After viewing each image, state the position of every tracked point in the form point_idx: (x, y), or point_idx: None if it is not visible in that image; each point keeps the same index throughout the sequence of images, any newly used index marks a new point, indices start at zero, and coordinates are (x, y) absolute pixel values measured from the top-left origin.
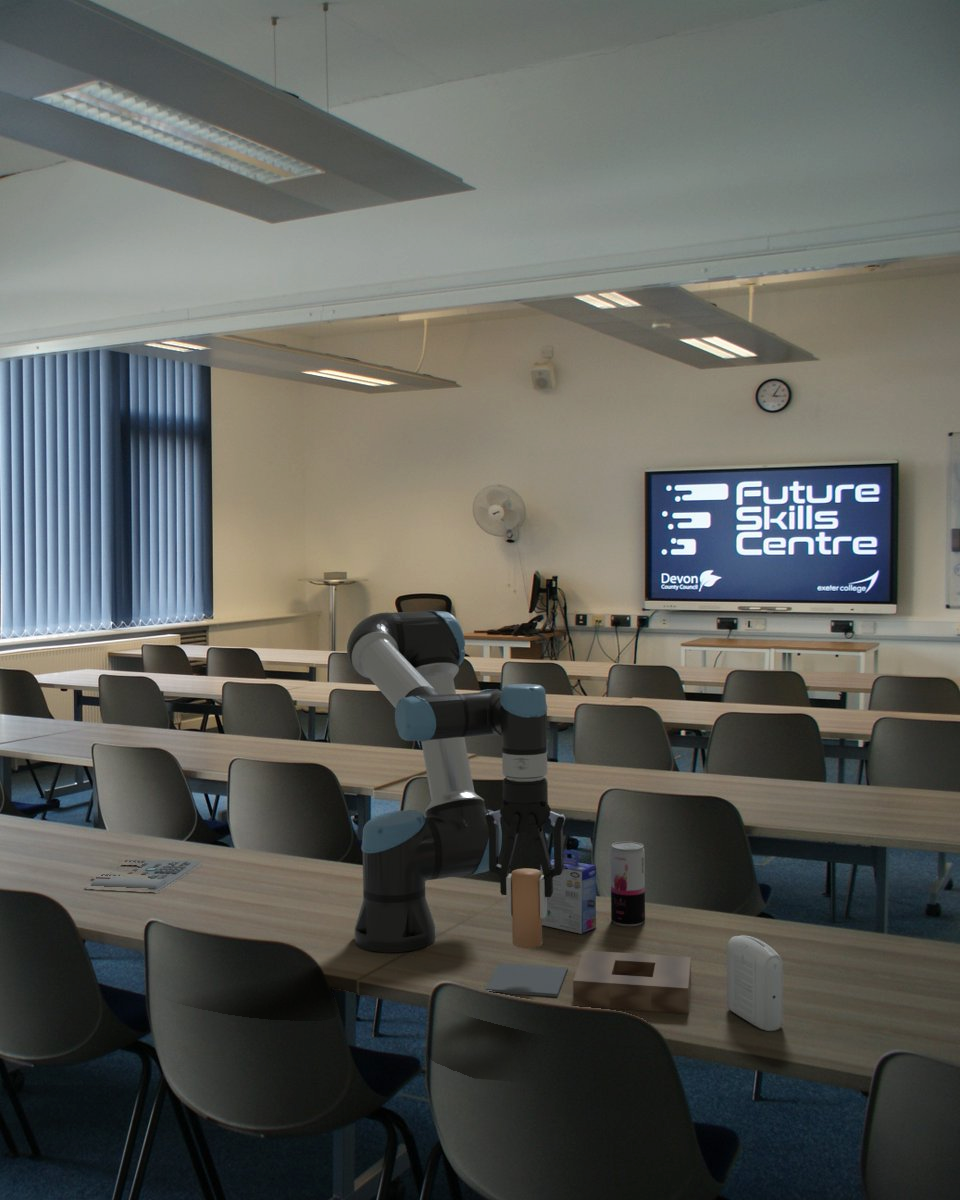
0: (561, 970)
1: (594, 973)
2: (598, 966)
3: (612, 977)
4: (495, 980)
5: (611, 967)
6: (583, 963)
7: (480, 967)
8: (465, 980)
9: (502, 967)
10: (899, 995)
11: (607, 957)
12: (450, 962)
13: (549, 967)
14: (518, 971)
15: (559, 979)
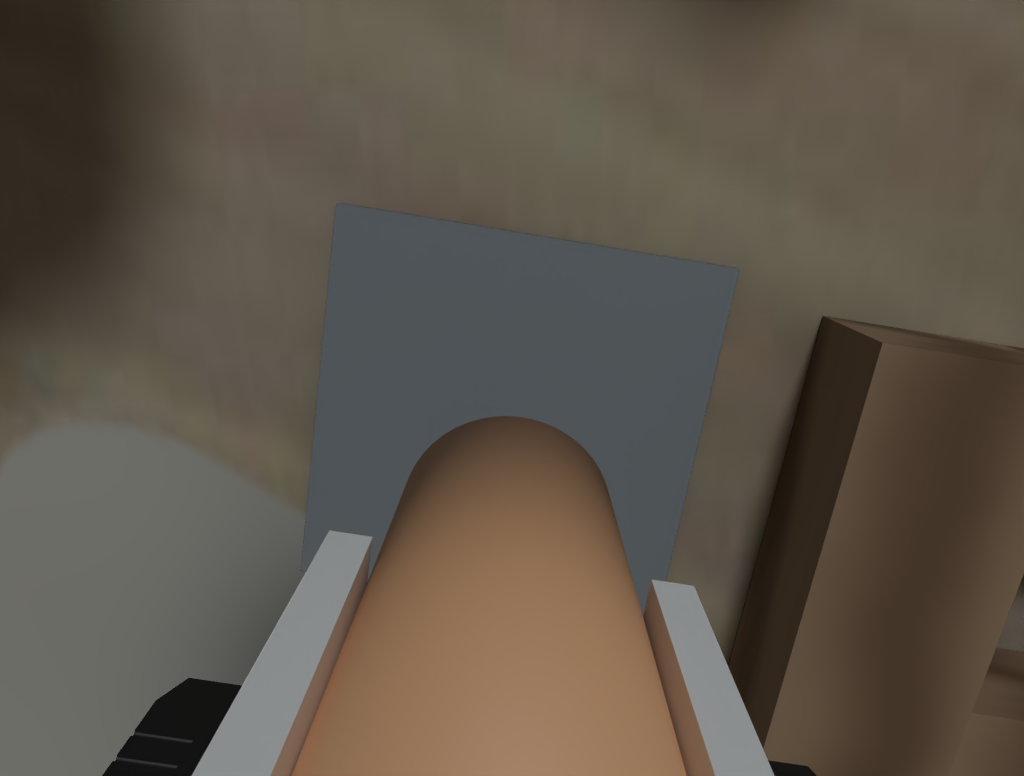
0: (699, 320)
1: (881, 699)
2: (923, 603)
3: (968, 751)
4: (340, 466)
5: (996, 619)
6: (842, 563)
7: (232, 227)
8: (182, 421)
9: (360, 279)
10: None
11: (1010, 463)
12: (40, 146)
13: (633, 273)
14: (455, 336)
15: (678, 449)
